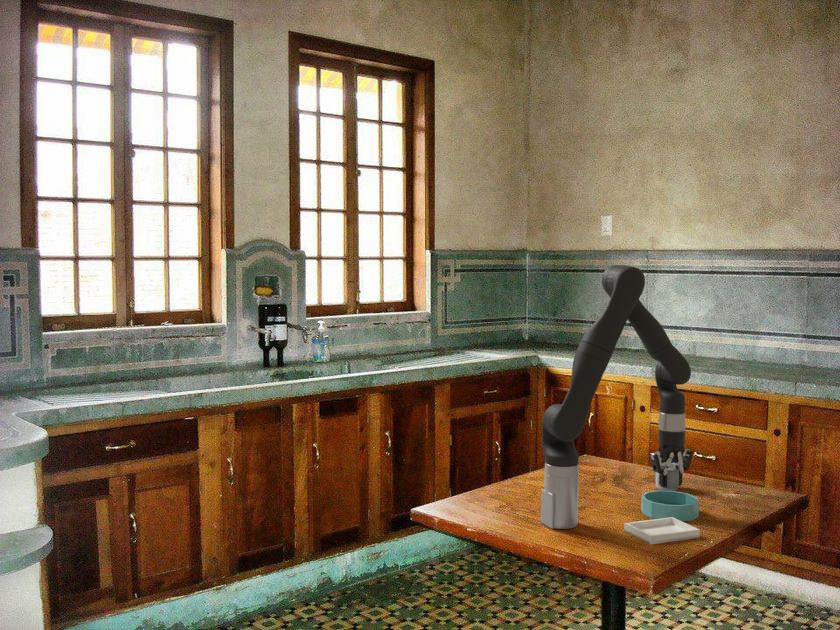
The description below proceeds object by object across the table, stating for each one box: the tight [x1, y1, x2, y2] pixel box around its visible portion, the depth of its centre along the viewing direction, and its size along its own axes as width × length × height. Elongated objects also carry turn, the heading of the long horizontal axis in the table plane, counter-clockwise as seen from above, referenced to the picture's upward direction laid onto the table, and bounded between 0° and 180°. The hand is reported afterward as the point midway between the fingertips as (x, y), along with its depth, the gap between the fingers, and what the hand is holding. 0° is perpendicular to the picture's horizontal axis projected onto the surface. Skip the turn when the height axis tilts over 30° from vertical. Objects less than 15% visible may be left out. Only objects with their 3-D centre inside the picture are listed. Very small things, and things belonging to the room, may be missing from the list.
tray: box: [623, 517, 701, 545], centre depth 231 cm, size 16×12×2 cm
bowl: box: [640, 489, 700, 522], centre depth 250 cm, size 16×16×4 cm
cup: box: [655, 457, 679, 491], centre depth 276 cm, size 7×10×9 cm
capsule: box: [666, 468, 680, 490], centre depth 249 cm, size 4×4×5 cm
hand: (670, 485), depth 250 cm, fingers closed on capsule, 4 cm apart
